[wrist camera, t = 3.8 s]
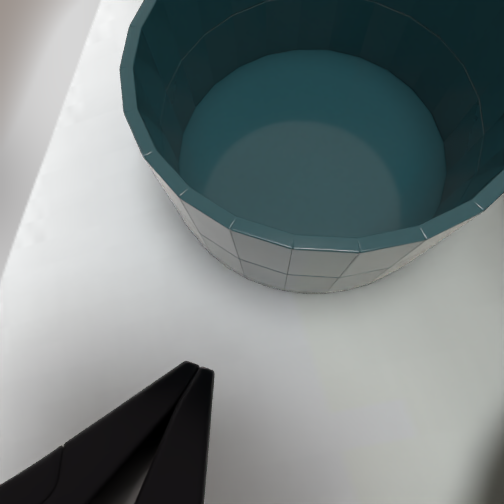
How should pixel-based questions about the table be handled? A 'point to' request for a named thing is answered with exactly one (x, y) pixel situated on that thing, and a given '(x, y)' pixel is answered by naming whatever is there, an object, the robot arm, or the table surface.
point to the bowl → (319, 128)
